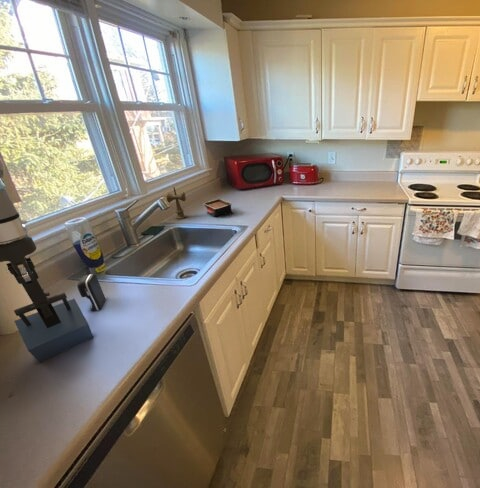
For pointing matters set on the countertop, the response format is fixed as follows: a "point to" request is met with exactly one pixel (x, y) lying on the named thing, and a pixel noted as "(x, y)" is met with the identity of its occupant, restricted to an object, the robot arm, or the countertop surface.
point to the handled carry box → (53, 328)
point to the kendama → (177, 202)
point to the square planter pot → (218, 207)
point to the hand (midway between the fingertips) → (53, 322)
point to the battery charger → (91, 291)
